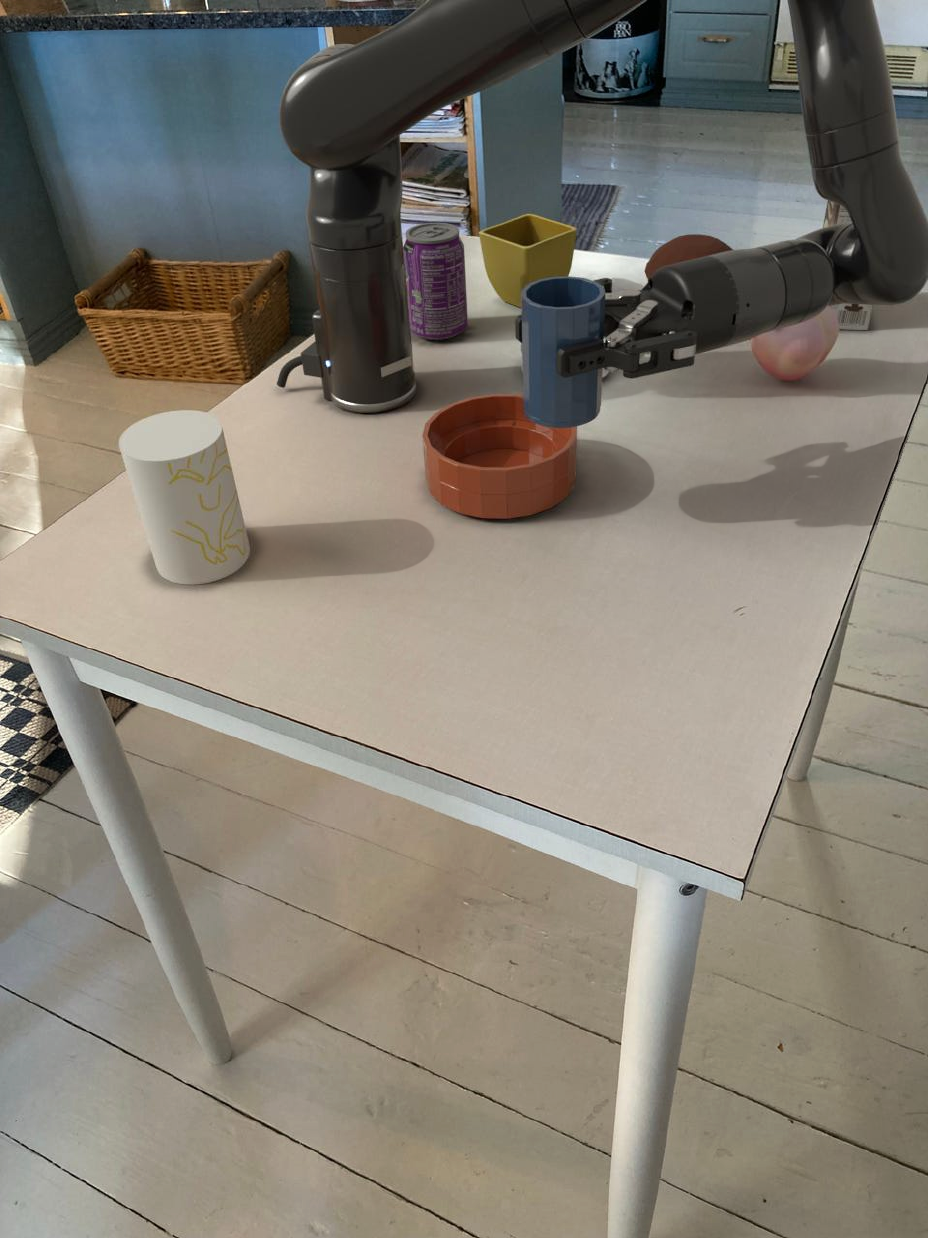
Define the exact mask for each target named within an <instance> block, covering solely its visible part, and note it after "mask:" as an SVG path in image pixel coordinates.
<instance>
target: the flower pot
mask: <svg viewBox="0 0 928 1238" xmlns="http://www.w3.org/2000/svg"><path fill="white" fill-rule="evenodd" d="M577 232H578V228H577V227H574V226H572V225H569V224H565V223H562V222H559V221H556V220H553V219H549V218H547V217H543V216H540V215H537V214H534V213H533V214H532V213H526V214H522V215H520V216H518V217H515V218H512V219H509V220H507V221H505V222H502V223H499V224H496V225H493V226H490V227H488V228H484V229H482V230H480V231H479V232H478V236H479V242H480V247H481V254H482V259H483V265H484V269H485V272H486V276H487V278H488V281H489V283H490V284H491V286H492V288H493V290H494V291H495V293H496V294H497V295H498V298H500V300H501V301H502V302H505V303H507V304H510V305H513V306H516V307H517V308H521V291H522V290H523V289H524V288H525V287H526V286H527V285H528V284H530V283H532V282H535V281H537V280H540V279H545V278H550V277H563V276H570V273H571V269H572V265H573V261H574V260H573V259H574V254H575V253H574V252H575V245H576V239H577Z"/></svg>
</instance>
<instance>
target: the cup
mask: <svg viewBox="0 0 928 1238" xmlns="http://www.w3.org/2000/svg"><path fill="white" fill-rule="evenodd" d="M118 447H119V451H120V454H121V457H122V461H123V464H124V466H125V470H126V473H127V476H128V479H129V480H128V481H129V483H130V487H131V490H132V493H133V496H134V500H135V502H136V503H135V504H136V507H137V509H138V512H139V515H140V519H141V522H142V525H143V529H144V532H145V536H146V539H147V541H148V545H149V548H150V552H151V555H152V558H153V561H154V565H155V567H156V568H155V569H156V570H157V572H158V574H159V575H160V576H161V577H162V578H163V579H165V580H166V581H168V582H171V583H174V584H178V585H179V584H180V585H186V586H187V585H189V586H192V585H193V586H195V585H203V584H210V583H213V582H216V581H219V580H222V579H225V578H226V577H228V576H231V575H232V574H234V573H235V572H236V571H238V570H240V569H241V568H242V567H243V566H244V565H245V563H246V562H247V561H248V559H249V556H250V554H251V545H250V542H249V537H248V533H247V529H246V524H245V520H244V517H243V511H242V508H241V503H240V498H239V494H238V490H237V485H236V480H235V476H234V473H233V467H232V463H231V460H230V459H231V458H230V455H229V449H228V446H227V442H226V436H225V433H224V428H223V424H222V423H221V421H220V419H219V418H218V417H216V416H215V415H213V414H211V413H208V412H205V411H202V410H193V409H192V410H191V409H179V410H170V411H164V412H160V413H156V414H152V415H150V416H147V417H145V418H143V419H140V420H138V421H136V422H135V423H133V424H131V425H130V426H129V427H128V428H126V429H125V430H124V431H123V432H122V434H121V435H120V437H119V439H118Z"/></svg>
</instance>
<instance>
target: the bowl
mask: <svg viewBox="0 0 928 1238" xmlns="http://www.w3.org/2000/svg"><path fill="white" fill-rule="evenodd" d="M421 437H422V448H423V461H424V471H425V481H426V485H427V488H428V491H429V494H430V496H431V497H433V498H434V499H435V500H436V501H437V502H438V503H439V504H440V505H441V506H443V507H446V508H448V509H449V510H452V511H454V512H456V513H458V514H460V515H464V516H465V515H466V516H471V517H474V518H475V517H476V518H479V519H505V520H507V519H514V518H522V517H526V516H532V515H535V514H537V513H540V512H543V511H546V510H548V509H551V508H553V507H554V506H556V505H557V504H559V503H560V502H561V501H563V500H564V499H566V498H567V497H568V496H569V495H570V493H571V492H572V490H573V489H574V487H575V486H576V483H577V481H576V480H577V453H578V450H577V449H578V426H576V427H570V428H552V427H546V426H542V425H539V424H536V423H534V422H532V421H531V420H529V419H528V418H527V417H526V416H525V414H524V411H523V394H518V393H492V394H485V395H479V396H471V397H468V398H465V399H461V400H459V401H456V402H452V403H450V404H448V405H446V406H445V407H442V408H441V409H439V410H438V411H436V412H435V413H433V415H432V416H431V417H430V418H429V419H428V420H427V421H426V422H425V424H424V428H423V431H422V436H421Z"/></svg>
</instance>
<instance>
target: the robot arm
mask: <svg viewBox="0 0 928 1238" xmlns="http://www.w3.org/2000/svg"><path fill="white" fill-rule="evenodd" d="M786 1H787V6H788V12H789V16H790V24H791V30H792V38H793V46H794V54H795V63H796V73H797V81H798V91H799V99H800V107H801V114H802V122H803V127H804V134H805V139H806V144H807V152H808V158H809V159H808V160H809V164H810V165H809V166H811V167H810V169H811V176H812V181H813V184H814V185H813V186H814V188H815V191H816V193H817V194H818V195H819V197H821V198H822V199H823V200H826V201H827V202H828V201H831V202H834V203H837V204H839V205H841V206H843V207H844V208H845V209H846V211H847V212H848V214H849V216H850V219H851V221H852V222H846V223H841V224H836V225H832V226H828V227H825V228H823V227H822V228H819V229H815V230H813V231H811V232H809V233H806V234H804V235H802V236H799V237H797V238H795V239H788V240H782V241H778V242H775V243H770V244H766V245H761V246H757V247H751V248H741V249H733V250H731V251H726V252H722V253H717V254H713V255H709V256H704V257H700V258H696V259H692V260H687V261H683V262H679V263H675V264H670V265H666V266H663V267H661V268H659V269H658V270H656V271H655V272H654V274H653V275H652V276H651V278H650V280H649V281H648V280H647V282H646V284H645V285H644V286H643V287H642V288H641V289H621V290H619V291H616V290H613V279H611V278H609V277H601V278H599V279H595V280H594V281H595V282H597V283H599V284H600V285H601V286H603V287H604V290H605V318H604V341H603V340H601V339H600V338H597V339H594V340H590V341H586V342H582V343H578V344H574V345H570V346H566V347H562V348H560V349H559V350H558V352H557V372H558V374H560V375H561V376H562V377H564V378H567V377H571V376H575V375H578V374H582V373H586V372H590V371H593V370H597V369H601V368H604V369H605V370H607V371H609V372H616V371H619V370H621V371H622V376H623V378H625V379H636V378H637V379H638V378H641V377H646V376H651V375H655V374H660V373H664V372H665V373H666V372H669V371H674V370H678V369H683V368H687V367H691V366H693V365H694V364H695V358H696V355H700V354H703V353H706V352H710V351H714V350H718V349H721V348H725V347H729V346H733V345H736V344H740V343H743V342H747V341H750V339H752V338H754V337H756V336H759V335H761V334H763V333H766V332H770V331H774V330H777V329H781V328H785V327H789V326H792V325H796V324H799V323H802V322H805V321H807V320H810V319H812V318H814V317H815V316H817V315H818V314H820V313H821V312H822V311H823V310H824V309H825V308H826V307H827V306H831V305H837V304H867V305H873V306H897V305H902V304H905V303H907V302H909V301H911V300H912V299H914V298H915V297H916V296H918V294H919V293H921V291H922V290H923V288H924V287H925V285H926V284H927V282H928V217H927V215H926V212H925V210H924V207H923V205H922V202H921V200H920V197H919V195H918V192H917V190H916V188H915V185H914V183H913V180H912V178H911V176H910V174H909V172H908V170H907V167H906V166H905V163H904V160H903V158H902V154H901V146H900V145H901V144H900V140H899V139H900V135H899V128H898V119H897V112H896V111H897V110H896V106H895V105H896V103H895V98H894V90H893V85H892V78H891V74H890V68H889V63H888V57H887V54H886V50H885V44H884V40H883V36H882V32H881V28H880V24H879V20H878V16H877V12H876V8H875V4H874V0H786ZM645 2H647V0H426V1H425V2H424V3H422V4H421V5H420V6H419V7H418V8H417V9H414V11H412V13H410V14H409V15H407V16H406V17H404V18H403V19H402V20H400V21H398V22H397V23H396V24H394V25H392V26H390V27H389V28H387V29H385V30H383V31H382V32H379V33H377V34H375V35H373V36H371V37H369V38H367V39H365V40H362V41H361V42H359V43H357V44H351V43H337V44H333V45H329V46H327V47H325V48H323V49H321V50H320V51H318V52H317V53H315V54H314V55H313V56H311V57H310V58H309V59H308V60H306V61H305V62H304V63H303V64H301V65H299V67H298V68H296V70H295V71H294V72H293V73H292V75H291V76H290V77H289V78H288V80H287V83H286V85H285V87H284V89H283V92H282V95H281V97H280V103H279V107H278V125H279V131H280V133H281V134H280V135H281V137H282V140H283V142H284V144H285V145H286V147H287V149H288V150H289V151H290V153H291V154H292V155H293V156H294V157H295V158H296V159H298V161H300V162H301V163H303V164H305V165H306V166H308V168H309V188H308V197H307V201H306V207H305V214H304V215H305V225H306V231H307V238H308V243H309V244H308V245H309V250H310V257H311V265H312V271H313V277H314V284H315V291H316V298H317V305H318V310H316V311H315V312H314V313H313V314H312V315H311V316H312V318H311V321H312V328H313V334H314V340H315V341H314V342H312V343H311V344H310V345H308V346H307V347H306V348H304V350H302V351H301V352H300V355H299V356H296V357H294V358H292V359H290V360H288V361H287V362H286V363H285V364H283V366H282V368H281V369H280V371H279V375H278V378H277V381H276V385H277V386H278V387H279V388H283V389H284V388H286V386H287V382H288V379H289V376H290V374H291V372H292V371H293V370H294V369H296V368H297V367H300V366H302V371H303V374H304V376H308V377H314V378H320V380H321V386H322V394H323V399H324V400H327V401H332V403H333V404H334V405H336V406H337V407H338V408H341V409H342V410H345V411H349V412H353V413H354V412H355V413H363V414H364V413H366V414H367V413H368V414H369V413H379V412H385V411H389V410H390V411H391V410H394V409H396V408H399V407H402V406H403V405H405V404H407V403H408V402H410V401H411V400H412V399H413V398H414V397H415V395H416V393H417V381H416V380H417V379H416V375H415V373H416V372H415V368H414V367H415V366H414V356H413V355H414V354H413V344H412V332H411V331H410V319H409V308H408V296H407V285H406V273H405V262H404V251H403V247H404V241H403V232H402V229H403V228H402V218H401V217H402V215H401V213H402V201H403V183H404V182H403V166H402V165H403V164H402V150H401V147H402V146H401V135H402V134H404V133H406V132H407V131H408V130H410V129H411V128H413V127H414V126H416V125H417V124H419V123H420V122H421V121H423V120H425V119H426V118H428V117H429V116H431V115H433V114H435V113H436V112H438V111H440V110H442V109H445V108H446V107H448V106H449V105H452V104H454V103H457V102H459V101H460V100H463V99H466V98H468V97H471V96H473V95H476V94H478V93H480V92H483V91H485V90H488V89H490V88H492V87H494V86H496V85H498V84H501V83H503V82H505V81H508V80H509V79H511V78H514V77H516V76H518V75H520V74H523V73H524V72H526V71H528V70H530V69H532V68H534V67H536V66H539V65H540V64H543V63H545V62H547V61H550V60H551V59H553V58H555V57H557V56H558V55H560V54H562V53H564V52H566V51H568V50H570V49H572V48H574V47H576V46H577V45H579V44H582V43H583V42H584V41H586V40H587V39H590V38H592V37H594V36H595V35H597V34H599V33H600V32H602V31H603V30H605V29H607V28H609V27H610V26H612V25H613V24H615V23H617V22H618V21H619V20H621V19H622V18H624V17H625V16H627V15H628V14H629V13H631V12H633V11H634V10H636V9H637V8H638V7H640V6H641V5H642V4H644V3H645ZM514 328H515V329H514V330H515V339H516V341H518V342H519V343H520V344H521V343H522V314H519V315H517V316H516V318H515V321H514ZM646 355H648V356H649V360H647V361H646V362H642V363H640V361H641V360H640V359H642V358H643V357H644V356H646Z"/></svg>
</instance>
